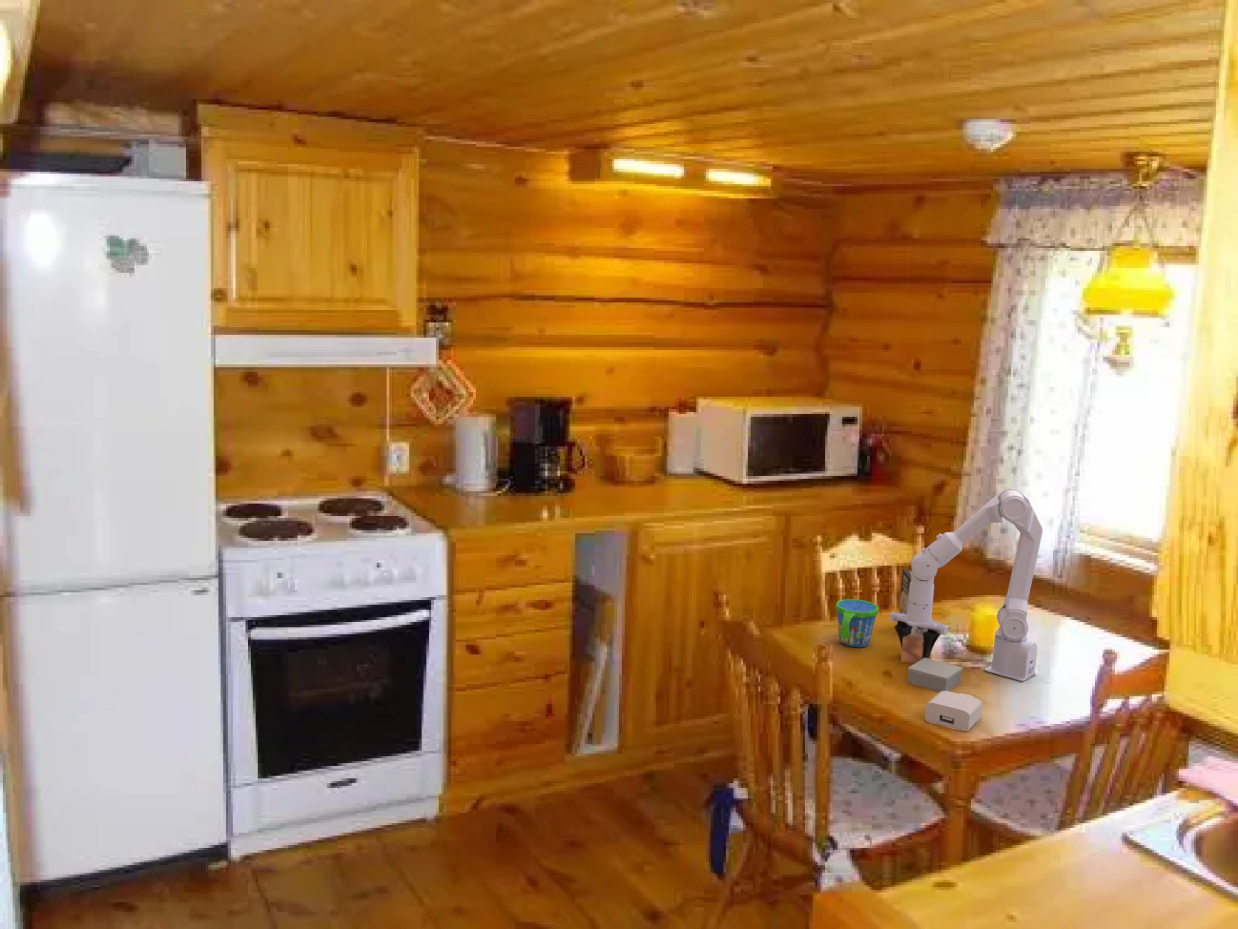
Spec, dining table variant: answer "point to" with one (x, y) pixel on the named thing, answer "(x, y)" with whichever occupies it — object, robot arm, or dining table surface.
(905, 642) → the terracotta block
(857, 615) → the snack cup
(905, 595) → the coffee box
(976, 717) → the charger
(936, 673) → the slate box
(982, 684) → the dining table surface
